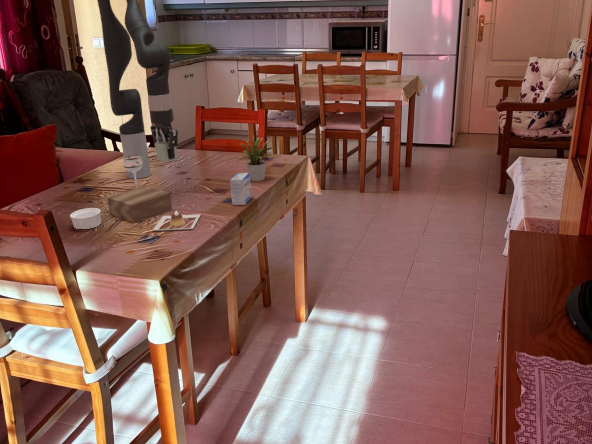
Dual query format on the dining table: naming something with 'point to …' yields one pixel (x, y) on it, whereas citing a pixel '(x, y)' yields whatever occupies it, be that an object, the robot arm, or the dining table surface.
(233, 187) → the medicine box
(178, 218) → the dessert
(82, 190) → the dining table surface
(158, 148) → the sage block
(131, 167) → the wineglass
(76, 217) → the ramekin
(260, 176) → the house plant
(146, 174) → the robot arm
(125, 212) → the walnut block
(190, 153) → the dining table surface
